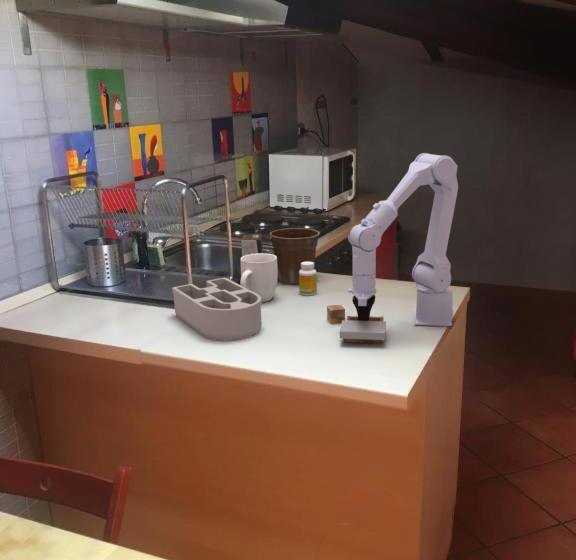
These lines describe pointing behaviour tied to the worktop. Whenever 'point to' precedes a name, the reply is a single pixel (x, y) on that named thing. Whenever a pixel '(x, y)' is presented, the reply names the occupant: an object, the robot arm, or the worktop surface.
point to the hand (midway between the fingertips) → (363, 323)
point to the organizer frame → (355, 318)
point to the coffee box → (251, 244)
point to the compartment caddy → (219, 309)
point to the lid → (363, 330)
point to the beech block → (335, 314)
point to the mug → (260, 274)
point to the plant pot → (293, 251)
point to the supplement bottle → (307, 279)
